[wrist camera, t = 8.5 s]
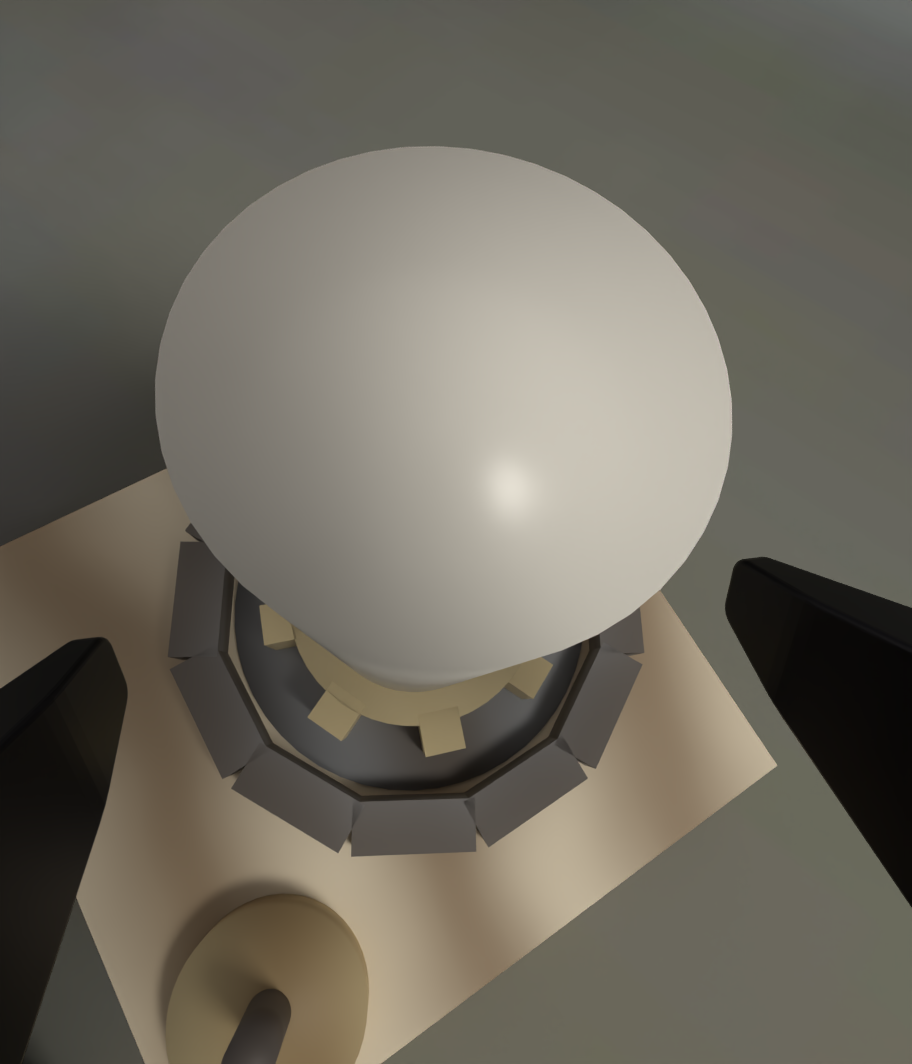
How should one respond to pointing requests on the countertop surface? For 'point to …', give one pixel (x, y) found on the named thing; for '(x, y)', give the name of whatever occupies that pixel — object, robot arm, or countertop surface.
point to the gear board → (344, 801)
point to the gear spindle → (440, 424)
